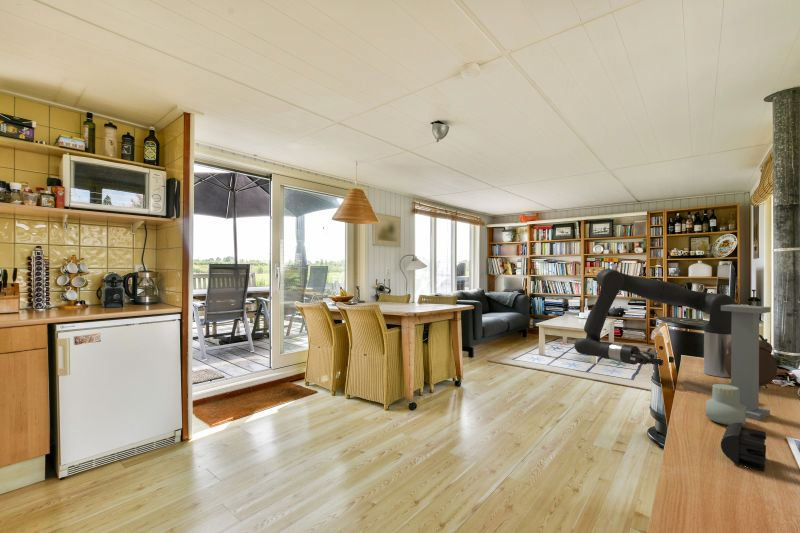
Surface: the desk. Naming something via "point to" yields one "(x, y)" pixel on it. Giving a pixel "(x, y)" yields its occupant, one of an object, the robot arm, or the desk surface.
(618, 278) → the robot arm
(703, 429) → the desk surface
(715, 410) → the air freshener
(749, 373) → the stand
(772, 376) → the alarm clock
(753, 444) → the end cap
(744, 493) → the desk surface
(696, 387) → the mallet
